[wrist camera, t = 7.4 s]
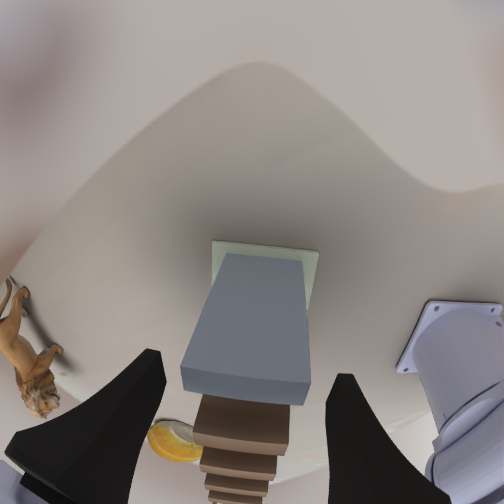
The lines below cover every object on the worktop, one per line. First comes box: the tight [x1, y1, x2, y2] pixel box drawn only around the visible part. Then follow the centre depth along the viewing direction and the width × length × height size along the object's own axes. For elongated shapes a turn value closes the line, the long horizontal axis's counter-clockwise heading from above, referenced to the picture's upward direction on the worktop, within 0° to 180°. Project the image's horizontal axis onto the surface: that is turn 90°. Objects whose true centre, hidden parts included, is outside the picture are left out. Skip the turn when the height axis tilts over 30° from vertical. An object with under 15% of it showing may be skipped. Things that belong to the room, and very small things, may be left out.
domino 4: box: [204, 473, 269, 497], centre depth 22 cm, size 2×5×10 cm, turn 86°
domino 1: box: [180, 253, 311, 406], centre depth 15 cm, size 2×5×10 cm, turn 86°
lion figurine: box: [0, 278, 63, 419], centre depth 23 cm, size 15×5×9 cm, turn 20°
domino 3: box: [199, 446, 277, 481], centre depth 20 cm, size 2×5×10 cm, turn 86°
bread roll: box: [147, 421, 204, 462], centre depth 31 cm, size 8×9×4 cm
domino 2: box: [192, 394, 290, 456], centre depth 17 cm, size 2×5×10 cm, turn 86°
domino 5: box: [208, 490, 262, 504], centre depth 24 cm, size 2×5×10 cm, turn 86°
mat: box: [212, 240, 319, 312], centre depth 25 cm, size 7×28×1 cm, turn 176°
